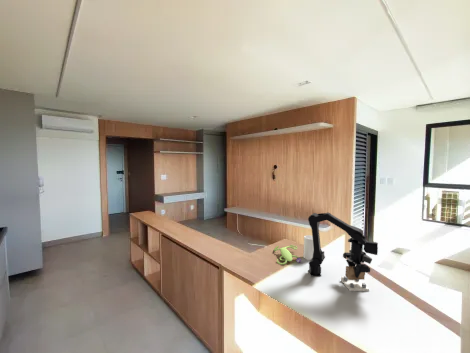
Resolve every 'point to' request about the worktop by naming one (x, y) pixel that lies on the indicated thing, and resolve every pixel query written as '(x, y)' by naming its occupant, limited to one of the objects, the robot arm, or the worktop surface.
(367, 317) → the worktop surface
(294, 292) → the worktop surface
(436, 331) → the worktop surface
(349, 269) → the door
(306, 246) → the cup
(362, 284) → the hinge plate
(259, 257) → the worktop surface
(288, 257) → the figurine
